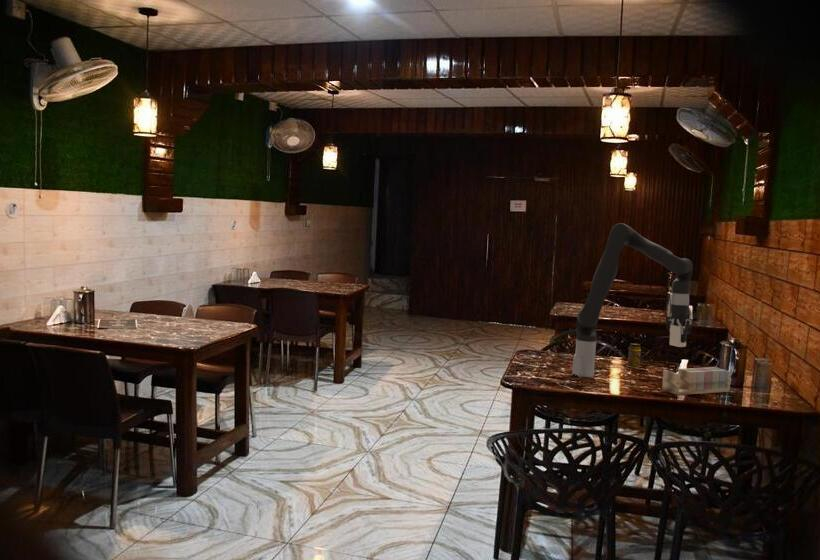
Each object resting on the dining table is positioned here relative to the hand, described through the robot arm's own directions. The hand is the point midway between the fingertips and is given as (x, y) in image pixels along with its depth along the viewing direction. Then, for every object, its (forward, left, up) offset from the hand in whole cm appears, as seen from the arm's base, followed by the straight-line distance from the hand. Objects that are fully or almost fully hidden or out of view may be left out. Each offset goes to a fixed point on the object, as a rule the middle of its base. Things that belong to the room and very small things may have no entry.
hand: (677, 341), depth 289 cm
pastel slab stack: (+10, -2, -22) cm, 25 cm away
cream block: (0, 0, -2) cm, 2 cm away
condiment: (+16, +48, -23) cm, 55 cm away
